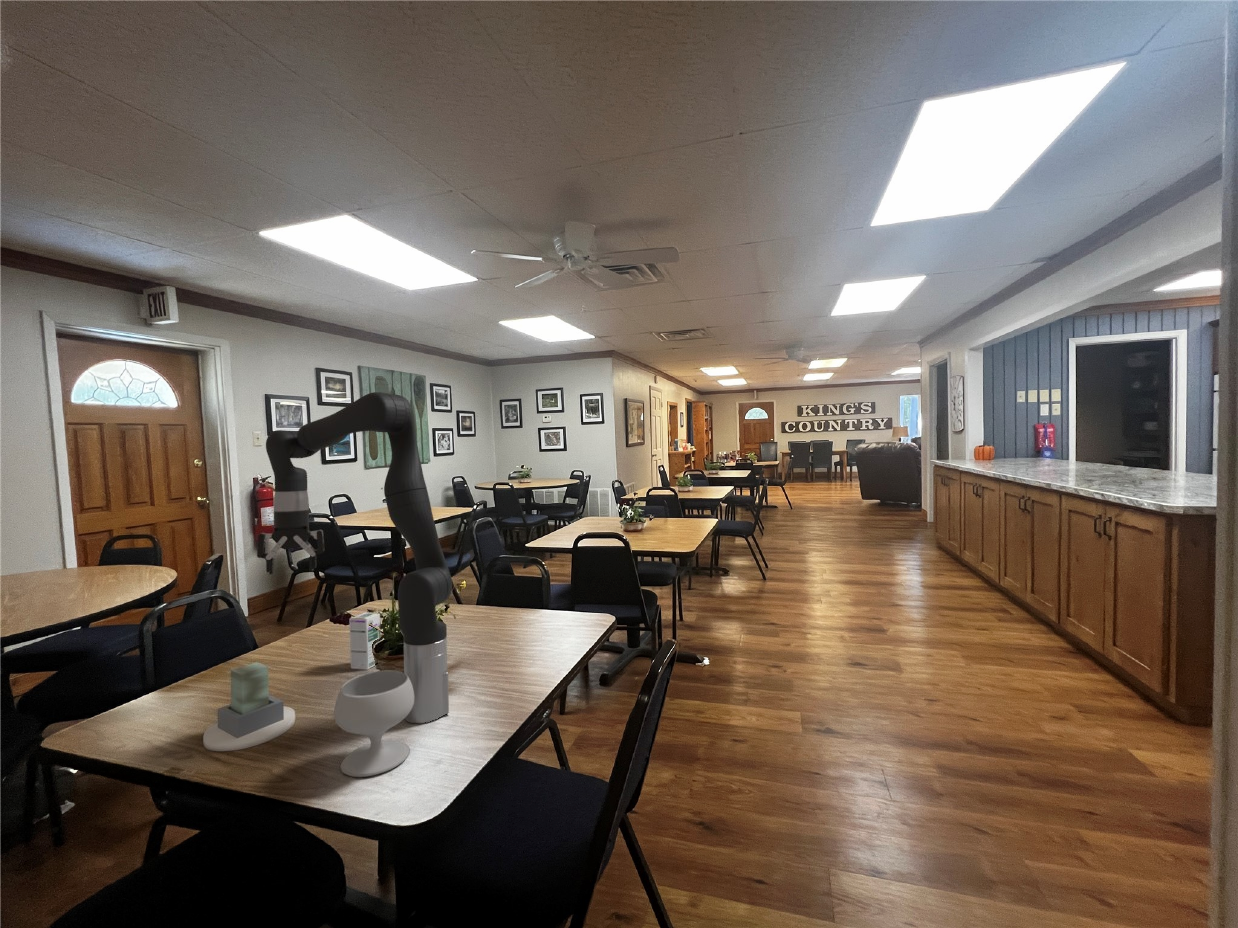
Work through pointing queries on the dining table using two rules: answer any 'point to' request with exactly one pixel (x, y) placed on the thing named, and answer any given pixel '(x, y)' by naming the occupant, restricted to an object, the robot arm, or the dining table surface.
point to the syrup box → (363, 639)
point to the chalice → (374, 719)
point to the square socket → (248, 726)
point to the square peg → (249, 688)
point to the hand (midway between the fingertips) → (292, 572)
